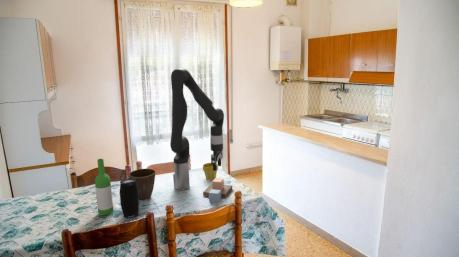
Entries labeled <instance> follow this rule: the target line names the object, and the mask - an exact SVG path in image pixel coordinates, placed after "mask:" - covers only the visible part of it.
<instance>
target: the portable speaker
mask: <svg viewBox="0 0 459 257" xmlns="http://www.w3.org/2000/svg"><path fill="white" fill-rule="evenodd" d="M119 181H120V182H119V183H120V184H119V185H120V186H119V200H120V207H121V208H120V209H121V211H122V215H123V217H124V218H125V219H129V218H131V217H135V218H136V217H138V216H139V211H140V200H139V195H138V187H137V183H136V179H135V178H130V177H129V178H124V179H121V180H119Z"/></svg>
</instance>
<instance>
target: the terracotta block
mask: <svg viewBox="0 0 459 257" xmlns="http://www.w3.org/2000/svg"><path fill="white" fill-rule="evenodd" d="M224 183H225V182H224V178H217V177H216V178H215V179H214V180H211V184H212V189H215V190H222V189H223V188H224V185H225V184H224Z"/></svg>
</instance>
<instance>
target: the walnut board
mask: <svg viewBox="0 0 459 257" xmlns="http://www.w3.org/2000/svg"><path fill="white" fill-rule="evenodd" d="M211 190H212V183H210V185H208V186H207V188H205V190H203V192H202V194H203V195H202V196H203V197H209V192H210V191H211ZM232 190H233V185H229V184H224V188H223V189H222V190H221V199H226V198H227V197H228V196H229V195H230V193H231V192H232Z"/></svg>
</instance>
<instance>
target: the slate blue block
mask: <svg viewBox="0 0 459 257" xmlns="http://www.w3.org/2000/svg"><path fill="white" fill-rule="evenodd" d="M221 200H222V198H221V190H215V189H212V190H211V191H210V192H209V196H208V202H211V203H219V202H220V201H221Z"/></svg>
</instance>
